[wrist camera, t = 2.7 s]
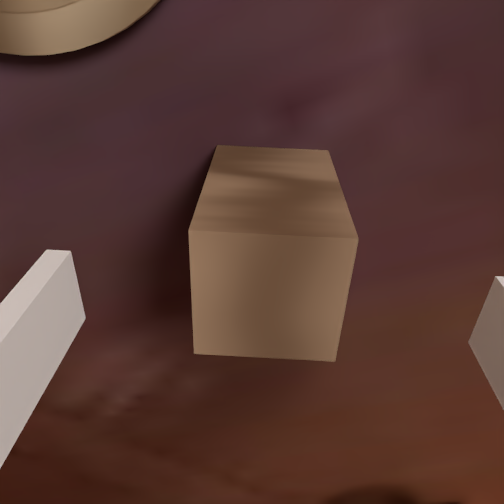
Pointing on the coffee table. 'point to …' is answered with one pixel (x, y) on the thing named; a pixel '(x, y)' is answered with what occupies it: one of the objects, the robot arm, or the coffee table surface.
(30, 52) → the plate
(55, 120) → the coffee table surface
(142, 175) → the coffee table surface
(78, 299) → the robot arm
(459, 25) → the coffee table surface
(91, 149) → the coffee table surface
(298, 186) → the block
